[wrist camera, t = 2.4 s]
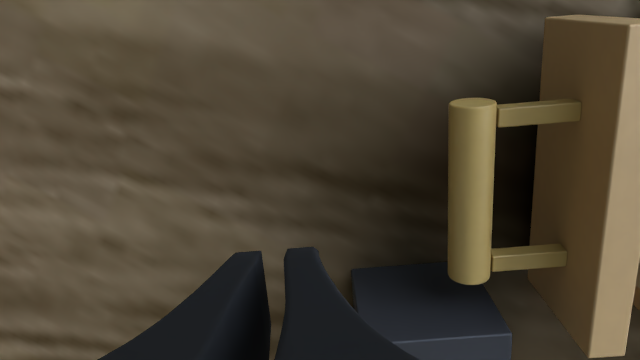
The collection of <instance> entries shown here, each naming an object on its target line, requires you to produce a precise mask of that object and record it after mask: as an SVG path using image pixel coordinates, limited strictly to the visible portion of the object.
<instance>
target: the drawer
mask: <svg viewBox="0 0 640 360" xmlns="http://www.w3.org/2000/svg"><path fill="white" fill-rule="evenodd" d="M537 124H538V130H537V145H536V159H535V174H534V189H533V204H532V218H531V233H530V246H521V247H508V248H495V249H491V240H492V215H493V189H494V164H495V138H496V126H497V127H499V128H500V127H513V126H525V125H537ZM490 269H491V270H492V272H498V271H511V270H525V269H528V277H527V278H528V280H529V281H530V282H531V284H532V285H533V286H534V288H535V289H536V290H537V292H538V293H539V294H540V296H541V297H542V298H543V300H544V301H545V302H546V304H547V305H548V306H549V308H550V309H551V310H552V312H553V313H554V314H555V315H556V317H557V318H558V319H559V321H560V322H561V323H562V325H563V326H564V327H565V329H566V330H567V331H568V333H569V334H570V335H571V337H572V338H573V339H574V341H575V342H576V343H577V344H578V346H579V347H580V348H581V350H582V351H583V352H584V354H585V355H586V356H587V357H588V358H601V357H615V356H624V355H625V351H626V344H627V338H628V331H629V324H630V318H631V311H632V305H634V306H635V307H636V308H637V309H638V310H639V311H640V18H625V17H609V16H594V15H567V16H555V17H547V18H545V27H544V42H543V56H542V71H541V86H540V101H536V102H524V103H512V104H499V105H497V103H496V101H494V100H492V99H487V98H463V99H457V100H453V101H451V102H450V103H449V135H448V275H449V277H450V278H451V279H452V280H453V281H455V282H458V283H460V284H465V285H478V284H482V283H484V282H486V281H487V280H488V279H489V278H490Z"/></svg>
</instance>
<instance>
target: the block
mask: <svg viewBox="0 0 640 360" xmlns="http://www.w3.org/2000/svg"><path fill="white" fill-rule="evenodd" d="M351 277H352V291H353V306H354V310H355V311H356V312H357V313H358V314H359V315H360V316H361V317H362V318H363V319H364V320H365V321H366V322H367V323H368V324H369V325H370V326H371V327H373V328H374V329H375V330H376V331H377V332H378V333H380V334H381V335H382V336H384V337H385V338H386V339H388V340H389V341H391V342H392V343H393V344H395V345H396V346H398V347H399V348H401V349H402V350H404V351H405V352H407V353H409V354H411V355H413V356H414V357H416V358H418V359H420V360H511V347H512V333H511V331H510V329H509V328H508V326H507V324H506V322H505V321H504V319H503V317H502V316H501V314H500V312H499V311H498V309H497V307H496V305H495V304H494V302H493V300H492V299H491V297H490V295H489V294H488V292H487V290H486V288H485V287H484V285H483V283H482V284H478V285H465V284H460V283H458V282H455V281H453V280H452V279H451V278H450V277H449V275H448V262H439V263H426V264H413V265H399V266H386V267H373V268H360V269H352V270H351Z"/></svg>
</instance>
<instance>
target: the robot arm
mask: <svg viewBox="0 0 640 360" xmlns="http://www.w3.org/2000/svg"><path fill="white" fill-rule="evenodd" d="M284 275H285V298H286V304H285V315H284V320H283V325H282V330H281V335H280V339H279V343H278V348H277V352H276V356H275V359H274V360H420V359H418V358H416V357H414V356H413V355H411V354H409V353H407V352H405V351H404V350H402V349H401V348H399V347H398V346H396V345H395V344H393V343H392V342H391V341H389V340H388V339H386V338H385V337H384V336H382V335H381V334H380V333H378V332H377V331H376V330H375V329H374V328H373V327H371V326H370V325H369V324H368V323H367V322H366V321H365V320H364V319H363V318H362V317H361V316H360V315H359V314H358V313H357V312H356V311H355V310H354V309H353V307H352V306H351V305H350V304H349V303H348V302H347V300H346V299H345V298H344V297H343V295H342V294H341V293H340V291H339V290H338V289H337V287H336V286H335V284H334V283H333V281H332V280H331V278H330V277H329V275H328V273H327V272H326V270H325V268H324V266H323V264H322V262H321V260H320V257H319V251H318V250H317V249H316V248H314V247H303V248H290V249H287V251H286V254H285V257H284ZM270 335H271V320H270V312H269V305H268V297H267V290H266V283H265V275H264V268H263V260H262V253H261V251H251V252H238V253H235V254H234V255H232V256H231V257H230V258H229V259H228V260H227V261H226V262H225V263H224V264H223V265H222V266H221V267H220V268H219V269H218V270H217V271H216V272H215V273H214V274H213V275H212V276H211V277H210V278H209V279H208V280H206V281H205V282H204V283H203V284H202V285H201V286H200V287H199V288H198V289H197V290H196V291H195V292H194V293H193V294H191V295H190V296H189V297H188V298H187V299H185V300H184V301H183V302H182V303H181V304H179V305H178V306H177V307H176V308H175V309H174V310H172V311H171V312H170V313H169V314H168V315H166V316H165V317H164V318H162V319H161V320H160V321H158V322H157V323H156V324H154V325H153V326H152V327H150V328H149V329H147V330H146V331H144V332H143V333H141V334H140V335H138V336H137V337H135V338H134V339H132V340H131V341H129V342H128V343H126V344H124V345H122V346H121V347H119V348H117V349H115V350H114V351H112V352H110V353H108V354H107V355H105V356H103V357H101V358H100V359H98V360H269V351H270Z"/></svg>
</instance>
